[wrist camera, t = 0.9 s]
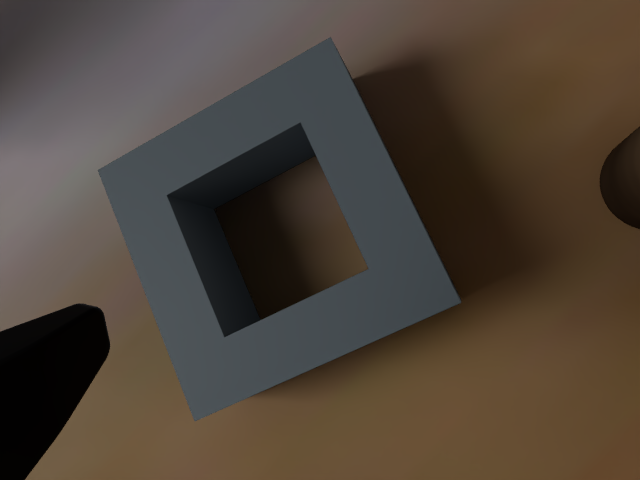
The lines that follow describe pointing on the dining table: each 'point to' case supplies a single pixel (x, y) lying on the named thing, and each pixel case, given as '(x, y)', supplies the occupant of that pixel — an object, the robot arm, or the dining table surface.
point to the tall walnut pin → (623, 180)
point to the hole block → (214, 251)
